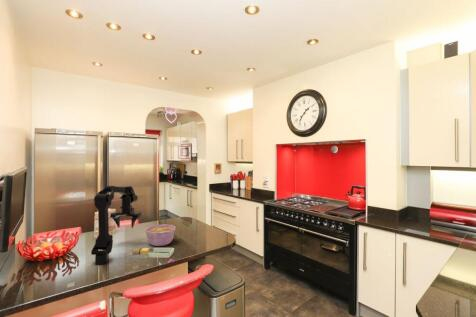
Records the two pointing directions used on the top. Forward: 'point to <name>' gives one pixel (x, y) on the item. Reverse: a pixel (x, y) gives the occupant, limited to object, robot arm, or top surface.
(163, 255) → the tray
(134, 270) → the top surface
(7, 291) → the top surface
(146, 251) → the yellow block
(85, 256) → the top surface
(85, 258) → the top surface
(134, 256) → the slot board
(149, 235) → the bowl of food
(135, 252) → the oak chip
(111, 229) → the coffeecake box
